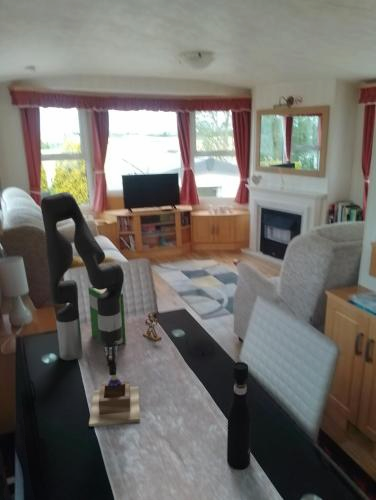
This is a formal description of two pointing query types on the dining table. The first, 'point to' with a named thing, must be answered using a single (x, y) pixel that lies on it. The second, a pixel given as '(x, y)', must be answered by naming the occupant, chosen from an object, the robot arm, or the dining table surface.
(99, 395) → the socket board
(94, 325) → the hardback book
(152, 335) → the openwork figure ornament
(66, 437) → the dining table surface
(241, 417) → the wine bottle
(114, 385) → the toy lamp
